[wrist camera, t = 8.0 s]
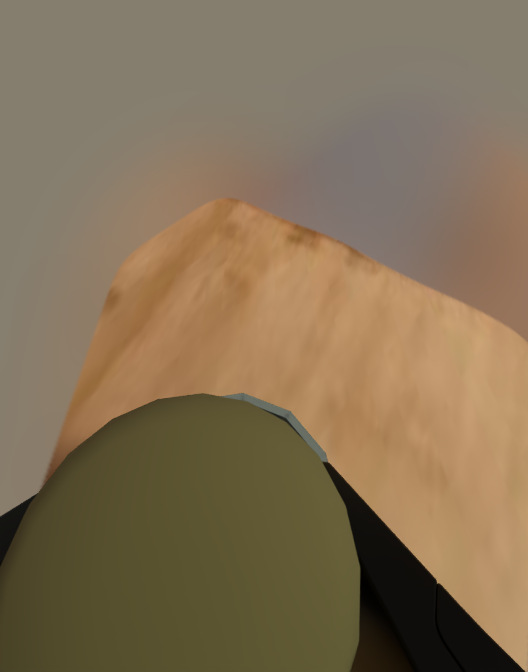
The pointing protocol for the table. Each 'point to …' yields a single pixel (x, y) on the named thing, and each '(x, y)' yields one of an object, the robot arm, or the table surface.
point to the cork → (184, 551)
